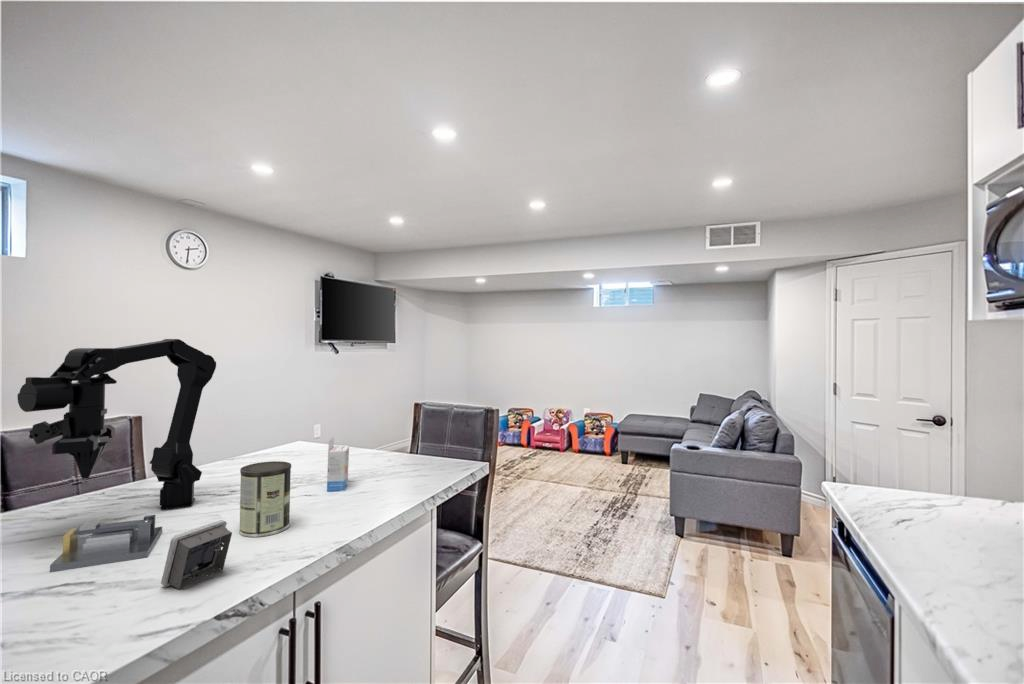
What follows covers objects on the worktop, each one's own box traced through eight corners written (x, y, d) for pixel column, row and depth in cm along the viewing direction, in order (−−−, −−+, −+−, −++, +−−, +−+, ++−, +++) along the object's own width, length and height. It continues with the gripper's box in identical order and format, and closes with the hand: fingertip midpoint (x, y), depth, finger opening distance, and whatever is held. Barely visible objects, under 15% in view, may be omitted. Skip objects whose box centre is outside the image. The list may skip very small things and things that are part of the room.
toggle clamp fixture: (162, 532, 102) (163, 508, 102) (147, 557, 90) (148, 530, 90) (78, 543, 95) (79, 517, 96) (49, 572, 83) (51, 542, 83)
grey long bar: (152, 523, 97) (153, 515, 97) (149, 528, 94) (149, 519, 94) (78, 532, 91) (79, 523, 91) (73, 537, 89) (74, 528, 89)
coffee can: (265, 518, 112) (267, 459, 112) (299, 523, 108) (301, 463, 109) (227, 533, 102) (229, 469, 102) (263, 540, 98) (265, 473, 99)
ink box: (344, 491, 134) (346, 440, 134) (326, 492, 133) (327, 440, 133) (348, 483, 142) (349, 435, 143) (331, 483, 141) (332, 435, 142)
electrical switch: (213, 565, 87) (218, 516, 87) (232, 573, 85) (237, 523, 85) (159, 588, 78) (164, 534, 78) (178, 598, 76) (184, 542, 76)
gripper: (52, 403, 104) (50, 472, 104) (16, 414, 88) (14, 496, 88) (116, 400, 110) (114, 466, 110) (93, 410, 94) (91, 487, 93)
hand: (85, 478), depth 100 cm, fingers closed
